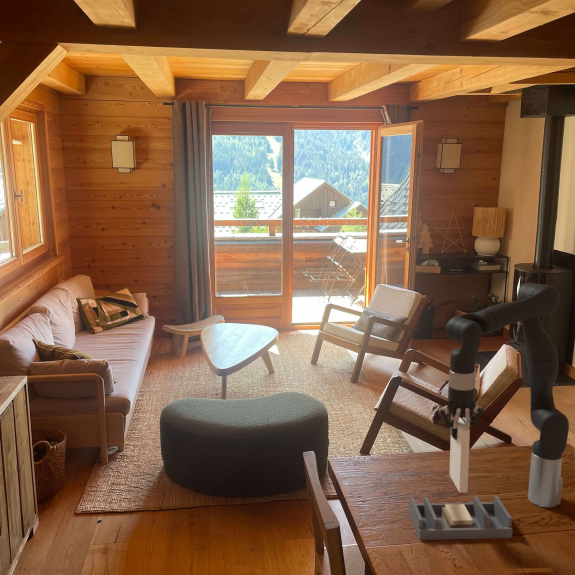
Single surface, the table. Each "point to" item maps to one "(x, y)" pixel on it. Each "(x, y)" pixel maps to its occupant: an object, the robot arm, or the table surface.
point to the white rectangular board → (460, 457)
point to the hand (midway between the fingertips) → (459, 438)
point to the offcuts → (456, 516)
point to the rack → (486, 524)
